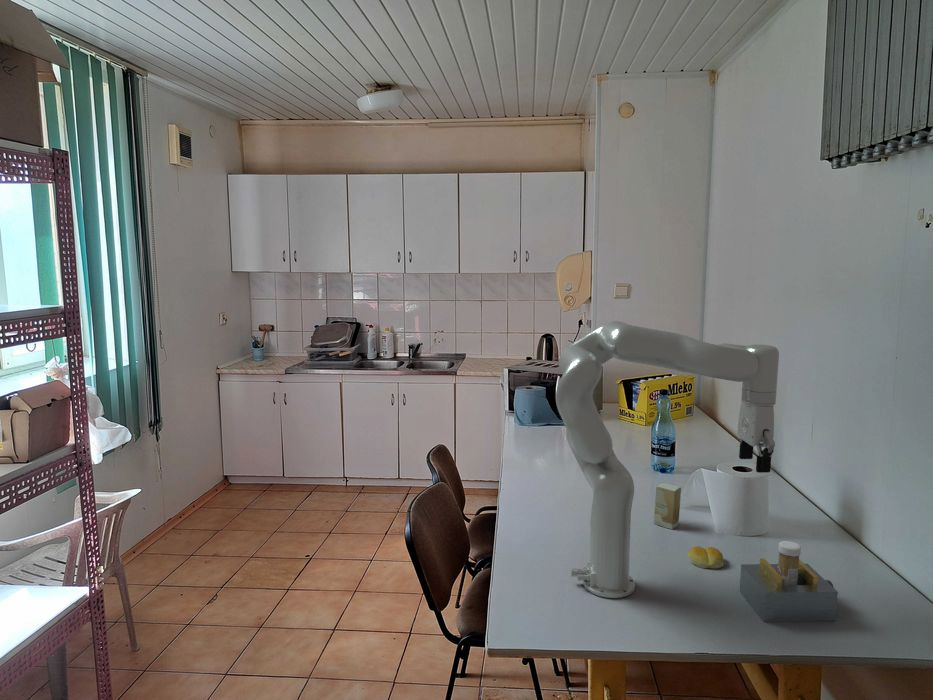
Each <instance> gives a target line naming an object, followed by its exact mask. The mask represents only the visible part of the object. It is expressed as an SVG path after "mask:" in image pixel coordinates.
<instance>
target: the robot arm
mask: <svg viewBox="0 0 933 700" xmlns="http://www.w3.org/2000/svg"><path fill="white" fill-rule="evenodd" d="M613 358H614V359H617V360H620V361H623V362H630V363H633V364H634V363H636V364H640V365H647V366H653V367H658V368H664V369H669V370H673V371H676V372H682V373H683V372H684V373H687V374H689V373H690V374H694V375H698V376H699V375H700V376H704V377H707V378H714V379H719V380H723V381H724V380H725V381H731V382H737V383H741V382H742V383H741V384H742V387H741V401H740V402H741V403H740V406H739V407H740V408H739V414H738V421H737V422H738V423H737V431H736V432H737V433H736V434H737V436H738V438H739V453H738V458H739V459H740V460H752V459H753V457H754V456H753V455H754V447H756V449H757V454H758V455H756V463H755V465H756V466H755V472H757V473H762V474H763V473H765V474H767V473H770V472H771V467H772V457H773V454H774V449H775V447H776V442H775V440H774V434H775V409H774V407H775V405H776V404H777V403H776V402H777V388H778V375H779V361H780V359H779V358H780V351H779V349H778V348H777V347H776V346H773V345H769V344H750V345H742V344H741V345H740V344H732V343H719V344H715V343H710V342H706V341H702V340H699V339H696V338H692V337H691V336H688V335H684V334H681V333H677V332H671V331H666V330H658V329H653V328H648V327H643V326H637V325H632V324H627V323H626V322H624V321H623V322H622V321H619V320H614V321H613V320H612V321H609V322H607V323H605V324H603V325H601V326H599V327H597V328H596V329H595V330H593V331H591V332H590V333H588V334H586V335H585V336H583V337H582V338H580V339H578V340H577V341H575V342H573V343H572V344H570V345H569V346H567V347H566V348H565V349H564V350H563V351H562V352H561V354H560V355H559V358H558V369H559V370H560V372H561V374H562V376H561V377H560V379H559V382H558V384H557V387H556V390H555V391H556V392H555V393H556V394H555V403H556V407H557V410H558V412H559V415H560V417H561V419H562V420H561V421H562V422H563V424H564V427H565V429H566V431H565V433H566V435H565V436H566V441H567V443H568V445H569V449H571V452H572V453H573V456H574V457H575V458H574V459H575V460H576V461H577V464H578V466H579V468H580V470H581V472H582V474H583V476H584V477H585V480H586V482H587V483H588V484H589V486H590V488H591V489H592V492H593V493H592V502H591V508H590V533H589V534H590V535H589V536H590V539H589V540H590V542H589V543H590V546H589V562H587V563H586V567H584V566H583V567H582V568H577V567H575V568H570V570H569V571H570V577H576V578H577V579H576V580H577V581H579V582H580V581H582V584H583V586H584V588H585V589H586V590H587V591H588V592H590V593H591V594H593V595H595V596H598V597H601V598H607V599H620V598H625V597H628V596H630V595H632V594H633V593H634V591H635V590H636V582H635V580H634V579H633V578H632V576H630V558H631V557H630V556H631V555H630V554H631V552H630V551H631V522H632V521H631V520H632V519H631V517H632V516H631V515H632V509H633V508H632V507H633V502H634V496H635V484H634V483H635V482H634V479H633V477H632V475H631V473H630V472H629V470H628V469H627V467H626V466H625V465H624V464H623V463H622V462H621V461H620V460H619V458H618V457H617V455H616V454H615V452H614V449H613V440H612V437H611V434H610V432H609V430H608V429H607V427H606V426H605V424H604V421H603V419H602V417H601V415H600V414H599V410H598V407H597V406H596V404H595V401H594V398H593V397H594V395H593V394H594V391H595V388H596V386H597V385H598V383H599V381H600V379H601V377H602V373H603V367H602V365H604V364H605V363H607V362H608V361H610V360H612V359H613Z"/></svg>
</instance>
